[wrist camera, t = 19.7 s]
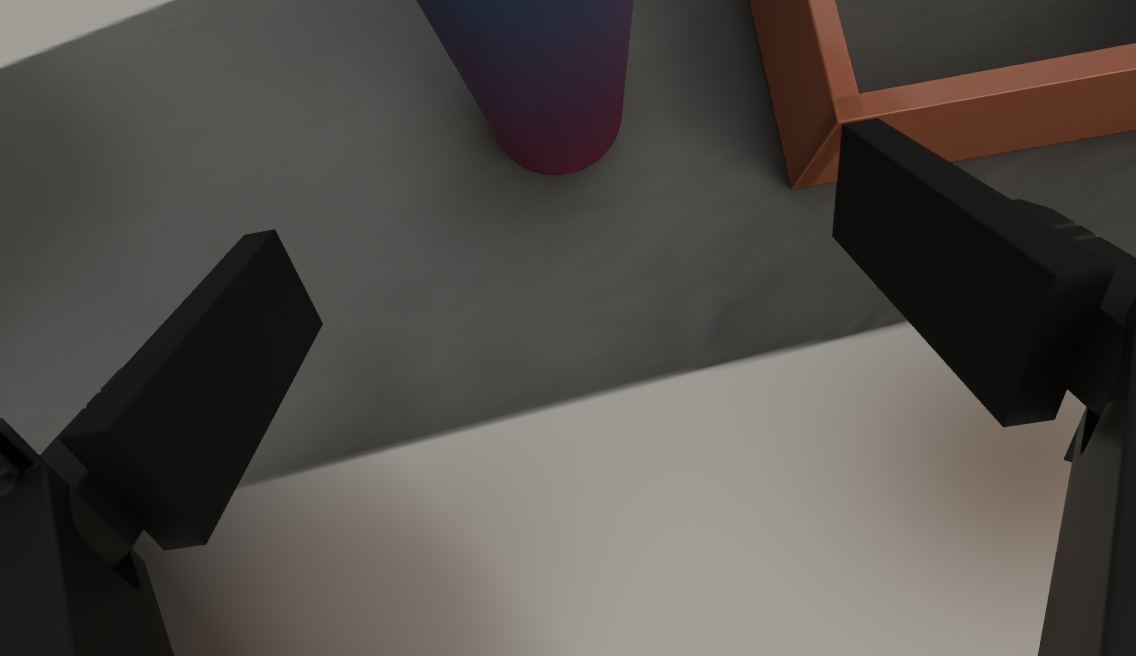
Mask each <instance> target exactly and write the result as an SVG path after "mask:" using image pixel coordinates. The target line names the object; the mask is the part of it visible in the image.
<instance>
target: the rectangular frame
mask: <svg viewBox="0 0 1136 656" xmlns="http://www.w3.org/2000/svg"><path fill="white" fill-rule="evenodd" d="M749 2H750V6H751V10H752V15H753V19H754V24H755V28H756V33H757V37H758V41H759V46H760V50H761V55H762V59H763V64H764V68H765V73H766V77H767V81H768V86H769V90H770V95H771V99H772V104H773V108H774V112H775V117H776V121H777V126H778V130H779V135H780V139H781V144H782V148H783V152H784V157H785V161H786V166H787V170H788V175H789V180H790V184H791V189H798V188H804V187H810V186H815V185H821V184H827V183H833V182H837V176H838V164H839V153H840V141H841V129H842V124H846V123H852V122H857V121H862V120H868V119H873V118H879V119H880V120H882V121H884V122H885V123H887V124H889V125H890V126H892V127H893V128H895V129H897V130H898V131H900V132H902V133H903V134H905V135H906V136H908V137H910V138H911V139H913V140H915V141H916V142H918V143H919V144H921V145H923V146H924V147H926V148H928V149H929V150H931V151H932V152H934V153H936V154H937V155H939V156H941V157H942V158H944V159H945V160H947V161H949V162H954V161H959V160H965V159H971V158H977V157H983V156H988V155H994V154H1000V153H1006V152H1011V151H1017V150H1023V149H1029V148H1034V147H1040V146H1046V145H1052V144H1058V143H1063V142H1069V141H1075V140H1081V139H1086V138H1092V137H1098V136H1104V135H1109V134H1115V133H1121V132H1127V131H1132V130H1136V43H1132V44H1127V45H1122V46H1116V47H1111V48H1105V49H1100V50H1094V51H1089V52H1083V53H1078V54H1072V55H1067V56H1062V57H1056V58H1051V59H1045V60H1040V61H1034V62H1029V63H1023V64H1018V65H1012V66H1007V67H1002V68H996V69H991V70H985V71H980V72H974V73H969V74H963V75H958V76H952V77H947V78H942V79H936V80H931V81H925V82H920V83H914V84H909V85H903V86H898V87H892V88H887V89H882V90H876V91H871V92H865V93H860V94H859V92H858V88H857V84H856V80H855V76H854V72H853V68H852V64H851V61H850V57H849V53H848V49H847V45H846V41H845V37H844V33H843V29H842V25H841V21H840V17H839V13H838V9H837V5H836V2H835V0H749Z"/></svg>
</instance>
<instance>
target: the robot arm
mask: <svg viewBox="0 0 1136 656" xmlns="http://www.w3.org/2000/svg"><path fill="white" fill-rule="evenodd" d="M832 236H833V237H834V239H835V240H836V241H837V242H838V243H839V244H840V245H841V246H842V248H843V249H844V250H845V251H846V252H847V253H848V254H849V255H850V256H851V258H852V259H853V260H854V261H855V262H856V263H857V264H858V265H859V267H860V268H861V269H862V270H863V271H864V272H865V273H866V274H867V275H868V277H869V278H870V279H871V280H872V281H873V282H874V283H875V284H876V286H877V287H878V288H879V289H880V290H881V291H882V292H883V293H884V294H885V296H886V297H887V298H888V299H889V300H890V301H891V302H892V303H893V305H894V306H895V307H896V308H897V309H898V310H899V311H900V312H901V313H902V315H903V316H904V317H905V318H906V319H907V320H908V321H909V322H910V324H911V325H912V326H913V327H914V328H915V329H916V330H917V331H918V332H919V334H920V335H921V336H922V337H923V338H924V339H925V340H926V341H927V343H928V344H929V345H930V346H931V347H932V348H933V349H934V350H935V351H936V352H937V354H938V355H939V356H940V357H941V358H942V359H943V360H944V361H945V362H946V364H947V365H948V366H949V367H950V368H951V369H952V371H953V372H954V373H955V374H956V375H957V376H958V377H959V378H960V379H961V381H962V382H963V383H964V384H965V385H966V386H967V387H968V388H969V390H971V392H972V393H973V394H974V395H975V396H976V397H977V398H978V400H980V402H981V403H982V404H983V405H984V406H985V407H986V409H987V410H988V411H989V412H990V413H991V414H992V415H993V416H994V418H995V419H996V420H997V421H998V422H999V423H1000V424H1001V425H1002V426H1003V427H1008V426H1015V425H1022V424H1028V423H1036V422H1042V421H1049V420H1055V418H1056V415H1057V413H1058V410H1059V408H1060V405H1061V403H1062V400H1063V398H1064V395H1065V393H1066V391H1067V389H1068V390H1069V391H1070V392H1071V393H1072V394H1073V395H1074V396H1076V397H1077V398H1078V399H1079V400H1080V401H1081V402H1082V403H1083V404H1084V405H1085V406H1087V407H1086V410H1085V412H1084V414H1083V416H1082V419H1081V421H1080V423H1079V426H1078V428H1077V430H1076V433H1075V435H1074V437H1073V439H1072V442H1071V444H1070V446H1069V448H1068V451H1067V453H1066V455H1065V457H1064V460H1066V461H1069V462H1072V466H1071V472H1070V477H1069V483H1068V489H1067V494H1066V500H1065V506H1064V511H1063V517H1062V523H1061V528H1060V534H1059V540H1058V545H1057V551H1056V556H1055V562H1054V568H1053V574H1052V579H1051V585H1050V591H1049V596H1048V602H1047V607H1046V613H1045V619H1044V624H1043V630H1042V636H1041V641H1040V647H1039V652H1038V656H1136V258H1135V257H1133V256H1132V255H1130V254H1128V253H1126V252H1125V251H1123V250H1121V249H1120V248H1118V247H1116V246H1115V245H1113V244H1111V243H1109V242H1108V241H1106V240H1104V239H1103V238H1101V237H1097V238H1095V234H1094V233H1092V232H1091V231H1089V230H1087V229H1085V228H1084V227H1082V226H1076V225H1075V222H1073V221H1072V220H1070V219H1068V218H1067V217H1065V216H1063V215H1061V214H1060V213H1058V212H1056V211H1055V210H1053V209H1050V208H1047V207H1044V206H1040V205H1037V204H1034V203H1031V202H1027V201H1024V200H1021V199H1018V200H1010V199H1009V198H1007V197H1006V196H1004V195H1002V194H1001V193H999V192H997V191H996V190H994V189H993V188H991V187H989V186H988V185H986V184H984V183H983V182H981V181H980V180H978V179H976V178H975V177H973V176H971V175H970V174H968V173H967V172H965V171H963V170H962V169H960V168H958V167H957V166H955V165H954V164H952V163H950V162H949V161H947V160H945V159H944V158H942V157H941V156H939V155H937V154H936V153H934V152H932V151H931V150H929V149H928V148H926V147H924V146H923V145H921V144H919V143H918V142H916V141H915V140H913V139H911V138H910V137H908V136H906V135H905V134H903V133H902V132H900V131H898V130H897V129H895V128H893V127H892V126H890V125H889V124H887V123H885V122H884V121H882V120H880V119H879V118H873V119H868V120H862V121H857V122H852V123H846V124H842V129H841V141H840V153H839V164H838V176H837V187H836V199H835V210H834V222H833V234H832ZM322 325H323V323H322V321H321V319H320V317H319V315H318V313H317V311H316V309H315V307H314V305H313V303H312V301H311V299H310V297H309V295H308V293H307V291H306V289H305V287H304V285H303V283H302V281H301V280H300V278H299V276H298V274H297V272H296V270H295V268H294V266H293V264H292V262H291V260H290V258H289V256H288V254H287V252H286V250H285V248H284V246H283V244H282V242H281V240H280V238H279V236H278V234H277V232H276V230H275V229H274V230H268V231H263V232H258V233H252V234H247V235H244V236H243V237H242V238H241V239H240V240H239V241H238V242H237V243H236V245H235V246H234V247H233V248H232V249H231V250H230V251H229V252H228V253H227V254H226V255H225V257H224V258H223V259H222V260H221V261H220V262H219V263H218V264H217V265H216V266H215V267H214V269H213V270H212V271H211V272H210V273H209V274H208V275H207V276H206V277H205V278H204V279H203V281H202V282H201V283H200V284H199V285H198V286H197V287H196V288H195V289H194V290H193V291H192V293H191V294H190V295H189V296H188V297H187V298H186V299H185V300H184V301H183V302H182V303H181V305H180V306H179V307H178V308H177V309H176V310H175V311H174V312H173V313H172V314H171V315H170V317H169V318H168V319H167V320H166V321H165V322H164V323H163V324H162V325H161V326H160V327H159V329H158V330H157V331H156V332H155V333H154V334H153V335H152V336H151V337H150V338H149V339H148V340H147V342H146V343H145V344H144V345H143V346H142V347H141V348H140V349H139V350H138V351H137V352H136V354H135V355H134V356H133V357H132V358H131V359H130V360H129V361H128V362H127V363H126V364H125V366H124V367H122V368H121V369H120V370H118V371H117V372H116V373H115V374H114V375H113V377H112V378H111V379H110V380H109V381H108V382H107V383H106V384H105V385H104V386H103V387H102V388H101V392H100V393H97V394H96V395H95V396H94V397H93V398H92V399H91V400H90V402H89V403H88V404H87V407H86V408H85V409H82V410H81V411H80V412H79V413H78V415H77V416H76V417H75V418H74V419H73V420H72V421H71V422H70V423H69V424H68V425H67V426H66V428H65V429H64V430H63V431H62V432H61V433H60V434H59V435H58V436H57V437H56V438H55V439H54V441H53V442H52V443H51V444H50V445H49V446H48V447H47V448H46V449H45V450H44V451H43V453H42V454H41V455H40V456H39V455H38V454H37V453H36V452H35V451H34V449H33V448H32V447H31V446H30V445H29V444H28V443H27V442H26V441H25V440H24V439H23V438H22V437H21V436H20V435H19V434H18V433H17V432H16V431H15V430H14V429H13V428H12V427H11V426H10V425H9V424H8V423H7V422H6V421H5V420H4V419H3V418H0V656H174V654H173V651H172V648H171V645H170V641H169V638H168V635H167V632H166V629H165V626H164V622H163V619H162V616H161V613H160V610H159V606H158V603H157V600H156V597H155V594H154V591H153V588H152V584H151V581H150V578H149V575H148V572H147V568H146V565H145V562H144V561H143V559H142V558H141V557H140V556H139V555H138V554H137V553H136V552H135V551H134V550H133V549H132V546H133V545H134V543H135V542H136V540H137V539H138V537H139V535H140V534H141V532H142V531H143V529H144V530H145V531H146V532H147V533H148V534H149V535H150V536H151V537H152V538H153V539H154V540H155V541H156V542H157V544H158V545H159V546H160V547H161V548H162V549H163V550H172V549H178V548H185V547H191V546H199V545H206V544H207V542H208V540H209V538H210V536H211V534H212V532H213V531H214V529H215V527H216V525H217V523H218V521H219V519H220V517H221V515H222V514H223V511H224V510H225V508H226V506H227V504H228V502H229V500H230V498H231V496H232V495H233V493H234V491H235V489H236V487H237V485H238V483H239V481H240V480H241V478H242V476H243V474H244V472H245V470H246V468H247V466H248V464H249V463H250V461H251V459H252V457H253V455H254V453H255V451H256V449H257V447H258V446H259V444H260V442H261V440H262V438H263V436H264V434H265V432H266V430H267V429H268V427H269V425H270V423H271V421H272V419H273V417H274V415H275V413H276V412H277V410H278V408H279V406H280V404H281V402H282V400H283V398H284V396H285V395H286V393H287V391H288V389H289V387H290V385H291V383H292V381H293V379H294V378H295V376H296V374H297V372H298V370H299V368H300V366H301V364H302V362H303V361H304V359H305V357H306V355H307V353H308V351H309V349H310V347H311V345H312V344H313V342H314V340H315V338H316V336H317V334H318V332H319V330H320V328H321V327H322Z"/></svg>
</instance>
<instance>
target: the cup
mask: <svg viewBox="0 0 1136 656" xmlns="http://www.w3.org/2000/svg"><path fill="white" fill-rule="evenodd" d="M416 1H417V2H418V4H419V6H420V7H421V9H422V11H423V12H424V14H425V16H426V18H427V19H428V21H429V23H430V24H431V26H432V28H433V29H434V31H435V33H436V34H437V36H438V38H439V39H440V41H441V43H442V45H443V46H444V48H445V50H446V51H447V53H448V55H449V56H450V58H451V60H452V61H453V63H454V65H455V67H456V68H457V70H458V72H459V73H460V75H461V77H462V78H463V80H464V82H465V83H466V85H467V87H468V89H469V90H470V92H471V94H472V95H473V97H474V99H475V100H476V102H477V104H478V105H479V107H480V109H481V111H482V112H483V114H484V116H485V117H486V119H487V121H488V122H489V124H490V126H491V127H492V129H493V131H494V133H495V134H496V136H497V138H498V139H499V141H500V143H501V144H502V146H503V147H504V149H505V151H506V152H507V153H508V154H509V155H510V156H511V157H512V158H513V160H514V161H516V162H517V163H519V164H520V165H522V166H523V167H525V168H527V169H530V170H532V171H534V172H538V173H543V174H548V175H561V174H567V173H572V172H575V171H578V170H581V169H583V168H586V167H587V166H589V165H591V164H592V163H594V162H596V161H597V160H598V159H599V158H600V157H601V156H602V155H603V154H605V153H606V151H607V150H608V149H609V147H610V146H611V145H612V143H613V141H614V139H615V137H616V135H617V133H618V130H619V126H620V122H621V115H622V106H623V96H624V86H625V76H626V67H627V57H628V47H629V37H630V28H631V18H632V8H633V0H416Z"/></svg>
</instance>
